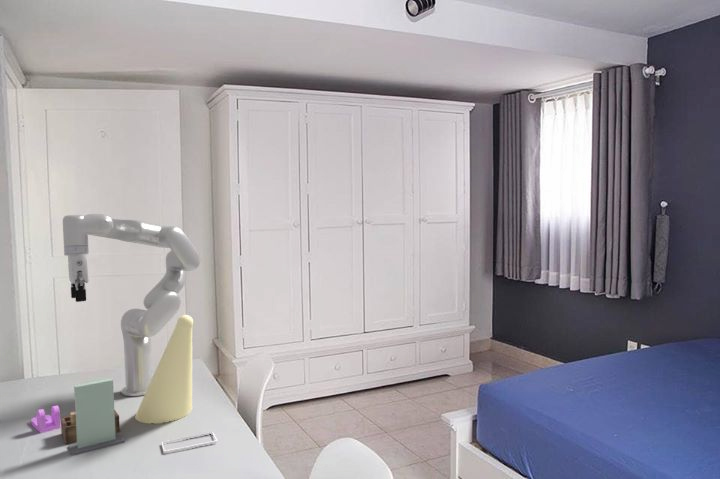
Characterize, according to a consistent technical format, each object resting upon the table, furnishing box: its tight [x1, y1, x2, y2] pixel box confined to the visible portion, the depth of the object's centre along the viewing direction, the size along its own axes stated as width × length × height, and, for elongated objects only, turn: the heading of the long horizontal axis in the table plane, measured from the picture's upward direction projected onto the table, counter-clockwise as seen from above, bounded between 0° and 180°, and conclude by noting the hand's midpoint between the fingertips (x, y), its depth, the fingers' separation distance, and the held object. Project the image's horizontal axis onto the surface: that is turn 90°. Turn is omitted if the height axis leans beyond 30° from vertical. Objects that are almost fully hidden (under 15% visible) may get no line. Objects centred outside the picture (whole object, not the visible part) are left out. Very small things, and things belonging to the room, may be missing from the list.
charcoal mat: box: [68, 431, 126, 456], centre depth 160 cm, size 14×7×1 cm, turn 126°
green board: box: [73, 377, 116, 448], centre depth 159 cm, size 10×2×18 cm, turn 126°
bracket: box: [30, 404, 61, 434], centre depth 175 cm, size 13×6×7 cm, turn 45°
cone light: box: [134, 314, 194, 424], centre depth 181 cm, size 25×18×35 cm
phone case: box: [161, 431, 218, 455], centre depth 159 cm, size 7×1×15 cm
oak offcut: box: [69, 411, 76, 425], centre depth 165 cm, size 5×2×8 cm, turn 126°
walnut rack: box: [60, 408, 121, 445], centre depth 168 cm, size 15×9×5 cm, turn 126°
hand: (78, 299), depth 188 cm, fingers open, 9 cm apart
